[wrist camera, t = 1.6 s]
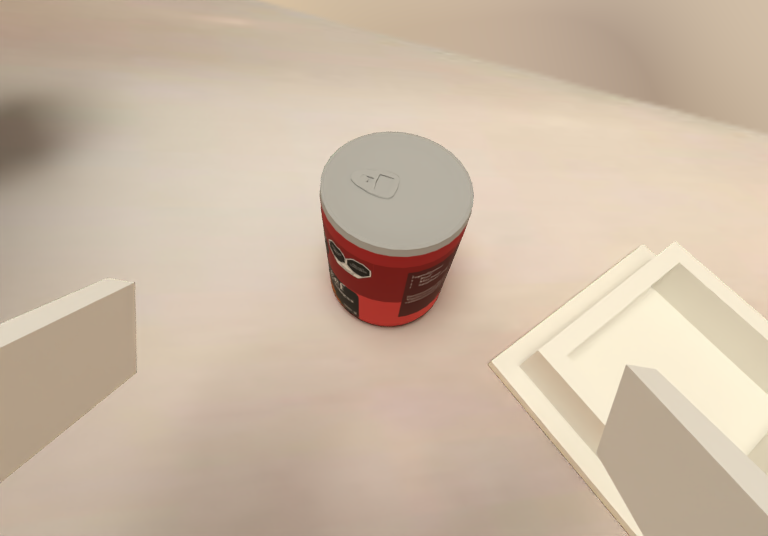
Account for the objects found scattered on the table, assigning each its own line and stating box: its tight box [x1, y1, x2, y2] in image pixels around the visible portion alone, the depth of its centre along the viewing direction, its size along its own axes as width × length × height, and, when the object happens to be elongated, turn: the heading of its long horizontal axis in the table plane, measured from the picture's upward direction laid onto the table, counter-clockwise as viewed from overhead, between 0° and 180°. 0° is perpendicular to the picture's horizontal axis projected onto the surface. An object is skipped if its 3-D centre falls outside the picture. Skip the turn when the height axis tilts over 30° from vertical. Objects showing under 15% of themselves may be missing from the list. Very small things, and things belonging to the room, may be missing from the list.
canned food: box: [320, 132, 474, 326], centre depth 27 cm, size 8×8×11 cm
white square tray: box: [488, 241, 768, 536], centre depth 27 cm, size 16×16×4 cm
